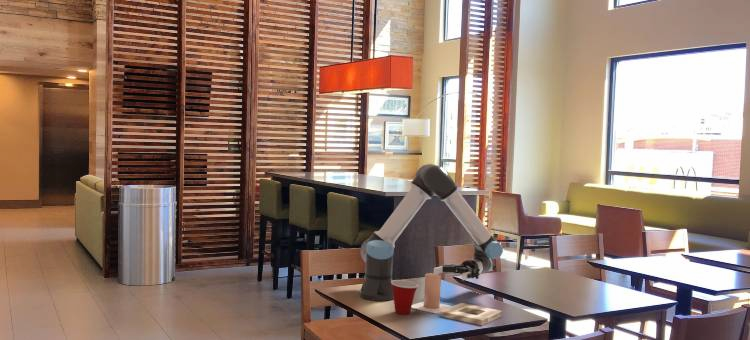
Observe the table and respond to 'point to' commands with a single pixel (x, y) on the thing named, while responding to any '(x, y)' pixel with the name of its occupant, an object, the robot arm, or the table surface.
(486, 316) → the socket board
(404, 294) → the plastic cup
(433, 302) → the terracotta canister
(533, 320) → the table surface
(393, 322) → the table surface
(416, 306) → the off-white pad
